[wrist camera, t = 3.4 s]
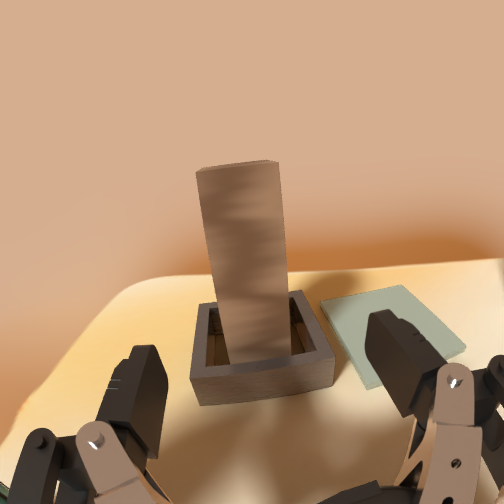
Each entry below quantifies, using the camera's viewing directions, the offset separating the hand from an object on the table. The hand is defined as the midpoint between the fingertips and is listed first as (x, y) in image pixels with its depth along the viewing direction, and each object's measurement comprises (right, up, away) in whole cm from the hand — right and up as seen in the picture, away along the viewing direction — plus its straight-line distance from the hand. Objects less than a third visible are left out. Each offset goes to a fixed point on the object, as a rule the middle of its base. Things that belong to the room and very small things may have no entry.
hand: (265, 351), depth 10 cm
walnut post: (0, -5, +12) cm, 13 cm away
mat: (+12, -3, +13) cm, 18 cm away
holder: (0, -5, +12) cm, 13 cm away
